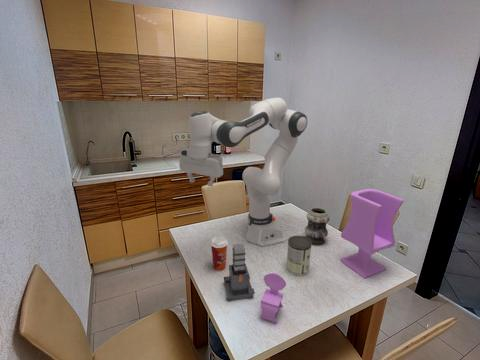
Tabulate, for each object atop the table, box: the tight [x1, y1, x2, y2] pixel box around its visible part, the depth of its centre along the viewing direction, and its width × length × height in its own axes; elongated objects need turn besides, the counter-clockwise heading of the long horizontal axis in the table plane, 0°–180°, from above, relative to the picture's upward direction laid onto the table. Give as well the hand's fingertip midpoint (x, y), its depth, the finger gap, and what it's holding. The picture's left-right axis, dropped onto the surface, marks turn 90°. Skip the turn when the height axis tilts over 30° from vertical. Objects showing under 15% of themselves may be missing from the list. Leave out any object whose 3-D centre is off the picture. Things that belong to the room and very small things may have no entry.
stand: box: [223, 262, 256, 302], centre depth 102 cm, size 11×11×10 cm
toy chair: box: [259, 272, 287, 324], centre depth 91 cm, size 8×9×15 cm
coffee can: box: [285, 235, 313, 277], centre depth 115 cm, size 10×10×14 cm
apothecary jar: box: [304, 206, 330, 246], centre depth 137 cm, size 12×12×18 cm
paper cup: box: [210, 236, 229, 272], centre depth 115 cm, size 8×8×14 cm
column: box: [232, 243, 246, 275], centre depth 100 cm, size 4×4×18 cm
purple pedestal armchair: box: [339, 188, 405, 279], centre depth 114 cm, size 16×16×35 cm
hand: (201, 183), depth 109 cm, fingers open, 8 cm apart
